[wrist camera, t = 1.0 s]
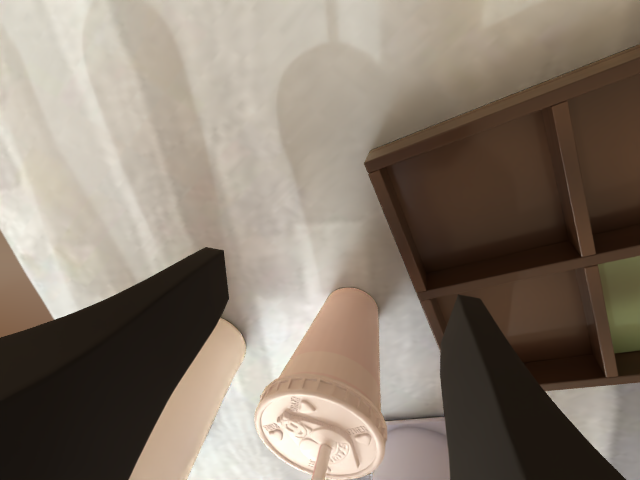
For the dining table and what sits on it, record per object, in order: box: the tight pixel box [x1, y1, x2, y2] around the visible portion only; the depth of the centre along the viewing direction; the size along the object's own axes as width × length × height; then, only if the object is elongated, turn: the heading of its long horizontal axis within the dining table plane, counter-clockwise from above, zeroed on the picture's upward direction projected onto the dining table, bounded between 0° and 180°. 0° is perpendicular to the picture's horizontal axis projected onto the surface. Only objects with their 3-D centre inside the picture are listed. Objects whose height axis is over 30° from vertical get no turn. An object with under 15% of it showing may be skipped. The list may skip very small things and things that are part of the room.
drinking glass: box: [129, 318, 246, 480], centre depth 23 cm, size 7×7×15 cm
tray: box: [364, 44, 640, 391], centre depth 18 cm, size 17×17×2 cm
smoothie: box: [254, 288, 387, 480], centre depth 19 cm, size 6×6×14 cm
